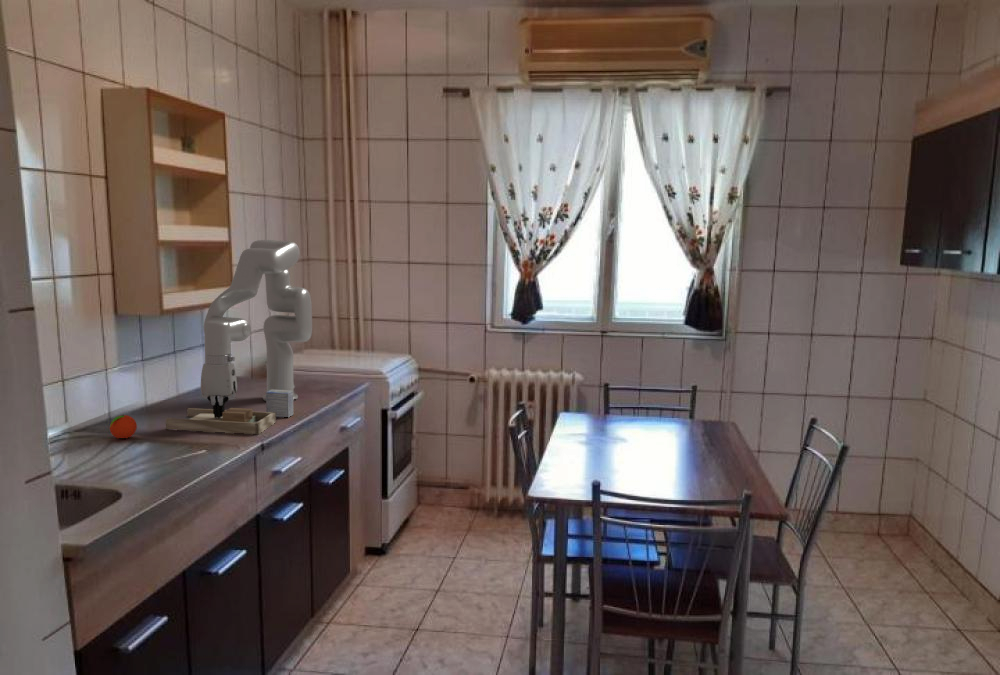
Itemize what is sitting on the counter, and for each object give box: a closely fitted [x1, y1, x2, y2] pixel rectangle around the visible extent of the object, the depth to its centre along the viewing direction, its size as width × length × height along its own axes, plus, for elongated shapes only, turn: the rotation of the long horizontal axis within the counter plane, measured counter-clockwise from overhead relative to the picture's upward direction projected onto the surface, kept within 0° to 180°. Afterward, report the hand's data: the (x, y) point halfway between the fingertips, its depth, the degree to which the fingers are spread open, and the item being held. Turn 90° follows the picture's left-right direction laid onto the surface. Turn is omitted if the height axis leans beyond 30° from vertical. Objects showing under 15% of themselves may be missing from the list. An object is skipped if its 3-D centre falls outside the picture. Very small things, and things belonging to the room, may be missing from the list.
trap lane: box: [165, 407, 277, 436], centre depth 213 cm, size 14×29×4 cm, turn 87°
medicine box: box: [265, 390, 294, 419], centre depth 228 cm, size 8×4×9 cm, turn 84°
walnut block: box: [222, 407, 254, 422], centre depth 212 cm, size 6×7×3 cm
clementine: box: [109, 414, 138, 439], centre depth 196 cm, size 8×7×7 cm
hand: (219, 416), depth 213 cm, fingers closed
